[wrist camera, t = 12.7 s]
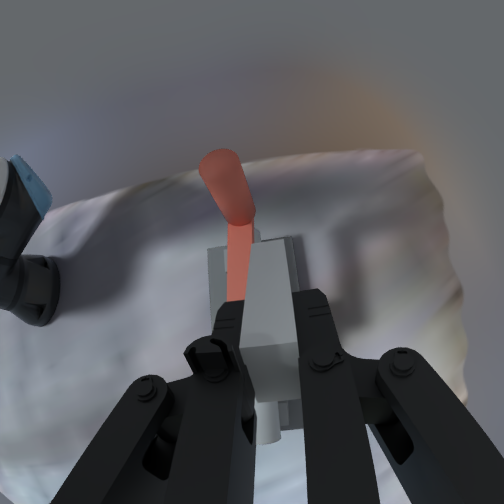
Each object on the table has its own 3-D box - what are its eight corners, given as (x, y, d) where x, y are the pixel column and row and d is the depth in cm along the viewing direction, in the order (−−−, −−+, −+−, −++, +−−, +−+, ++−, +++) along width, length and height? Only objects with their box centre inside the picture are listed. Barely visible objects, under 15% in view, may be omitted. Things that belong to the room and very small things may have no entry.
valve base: (224, 429, 31) (198, 456, 21) (210, 252, 40) (182, 221, 30) (313, 423, 30) (318, 453, 20) (291, 240, 39) (288, 203, 29)
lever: (260, 351, 24) (238, 356, 15) (226, 351, 24) (188, 355, 16) (257, 203, 29) (239, 146, 20) (228, 206, 29) (200, 152, 21)
